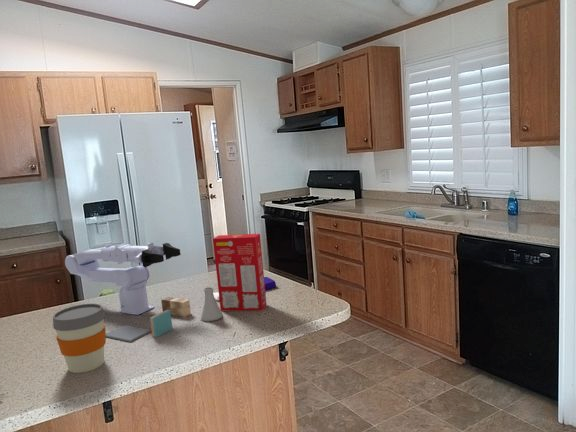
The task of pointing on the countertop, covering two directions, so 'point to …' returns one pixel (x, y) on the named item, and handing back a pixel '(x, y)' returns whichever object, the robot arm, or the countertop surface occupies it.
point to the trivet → (127, 333)
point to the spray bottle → (268, 285)
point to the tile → (161, 323)
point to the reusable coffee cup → (81, 336)
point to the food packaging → (240, 272)
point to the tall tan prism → (176, 306)
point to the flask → (210, 306)
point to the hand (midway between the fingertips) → (171, 255)
